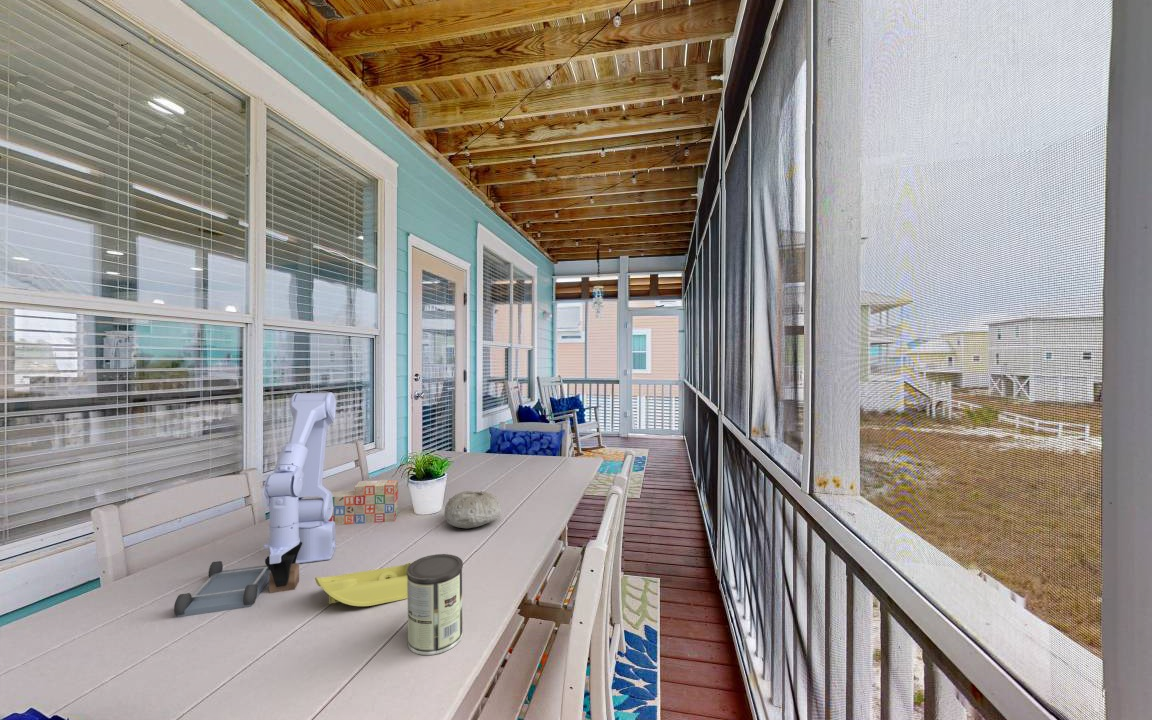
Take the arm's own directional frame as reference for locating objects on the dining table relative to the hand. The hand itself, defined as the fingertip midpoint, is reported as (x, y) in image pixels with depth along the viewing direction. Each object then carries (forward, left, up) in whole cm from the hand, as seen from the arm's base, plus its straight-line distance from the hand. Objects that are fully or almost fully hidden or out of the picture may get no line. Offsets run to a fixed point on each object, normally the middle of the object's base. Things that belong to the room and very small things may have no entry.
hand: (284, 580), depth 105 cm
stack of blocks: (-12, -41, -2) cm, 43 cm away
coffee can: (-33, +31, -2) cm, 45 cm away
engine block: (0, 0, -2) cm, 2 cm away
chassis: (+11, -2, -1) cm, 11 cm away
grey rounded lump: (-46, -26, -2) cm, 53 cm away
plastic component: (-19, +10, -2) cm, 21 cm away
